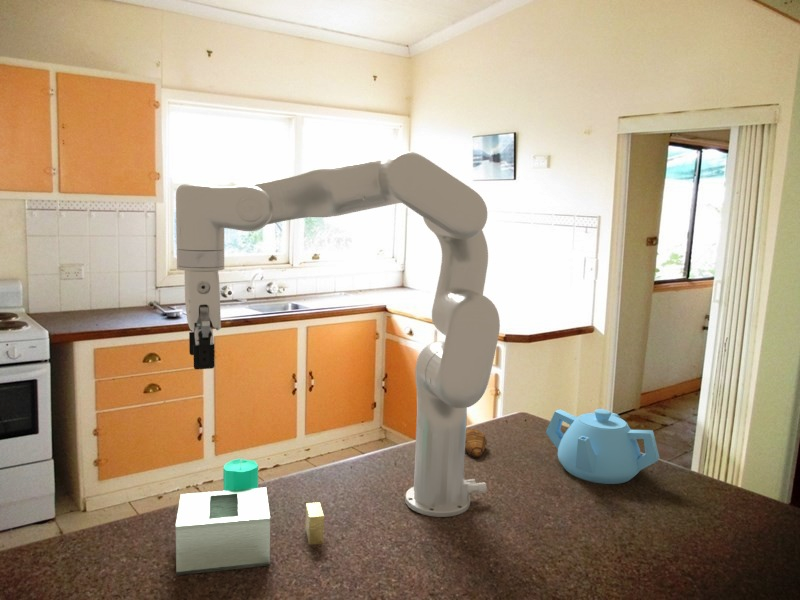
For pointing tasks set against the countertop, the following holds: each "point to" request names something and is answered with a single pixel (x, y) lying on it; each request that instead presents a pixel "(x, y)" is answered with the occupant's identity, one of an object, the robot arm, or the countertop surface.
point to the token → (314, 523)
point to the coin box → (222, 531)
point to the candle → (240, 475)
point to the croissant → (475, 443)
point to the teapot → (601, 446)
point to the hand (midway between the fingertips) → (201, 361)
